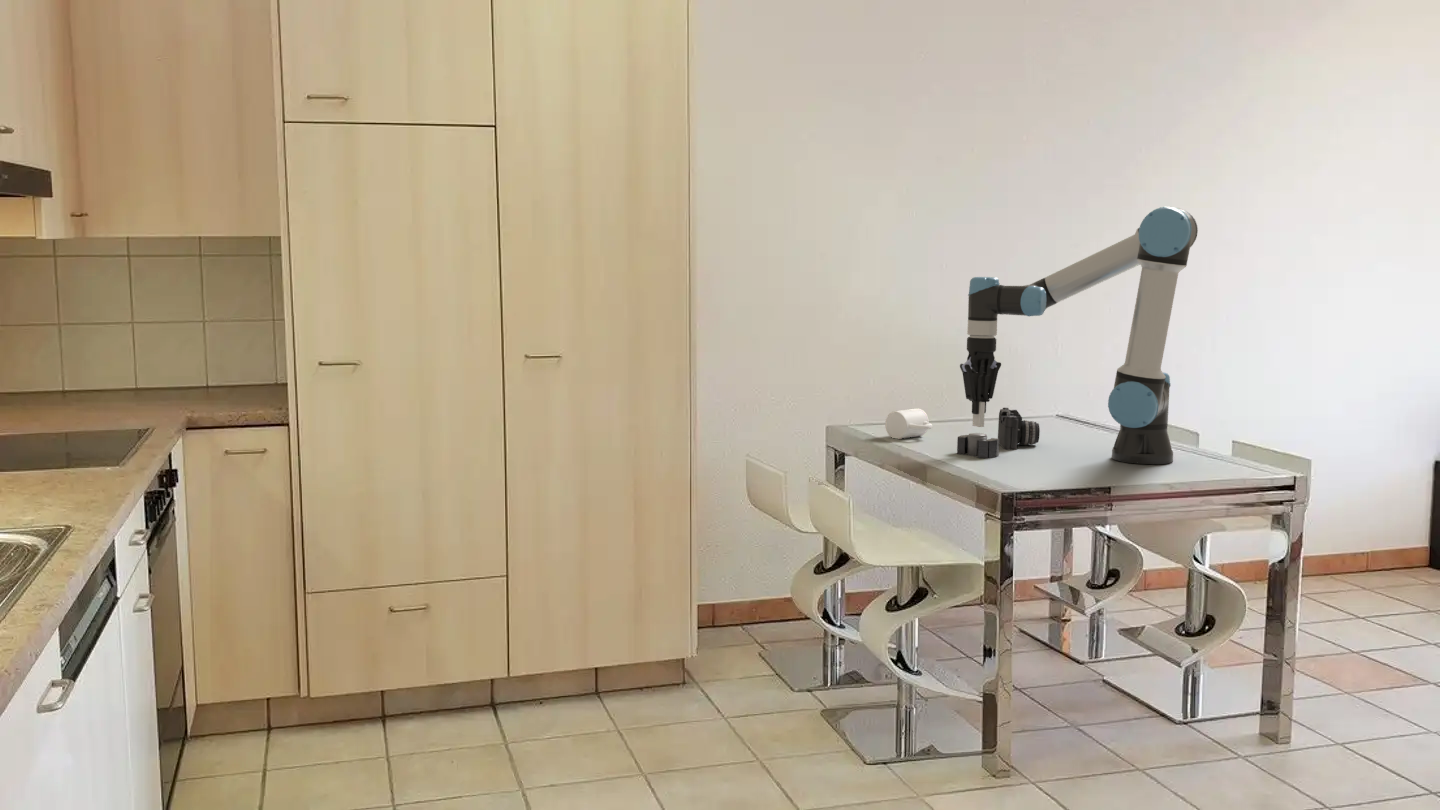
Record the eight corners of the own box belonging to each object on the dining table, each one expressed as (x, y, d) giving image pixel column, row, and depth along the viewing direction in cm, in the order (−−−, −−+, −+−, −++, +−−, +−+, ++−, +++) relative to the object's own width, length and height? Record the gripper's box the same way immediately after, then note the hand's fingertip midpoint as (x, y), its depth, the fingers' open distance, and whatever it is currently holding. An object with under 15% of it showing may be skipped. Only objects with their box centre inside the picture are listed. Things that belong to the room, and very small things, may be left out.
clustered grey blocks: (1002, 456, 347) (1003, 439, 346) (981, 458, 343) (982, 441, 342) (972, 450, 356) (973, 433, 355) (952, 452, 352) (952, 436, 351)
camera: (1043, 450, 357) (1045, 414, 356) (1002, 450, 357) (1004, 413, 356) (1033, 442, 371) (1034, 407, 370) (994, 441, 372) (995, 406, 370)
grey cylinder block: (990, 455, 349) (991, 434, 348) (977, 456, 346) (977, 436, 345) (977, 452, 353) (977, 432, 352) (963, 454, 350) (963, 434, 349)
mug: (884, 437, 377) (885, 409, 376) (907, 434, 384) (908, 406, 383) (917, 442, 368) (917, 414, 367) (940, 439, 375) (940, 411, 374)
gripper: (989, 334, 352) (985, 422, 355) (953, 336, 344) (949, 426, 348) (1010, 336, 345) (1006, 426, 349) (973, 338, 338) (970, 430, 341)
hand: (978, 426), depth 348 cm, fingers closed
